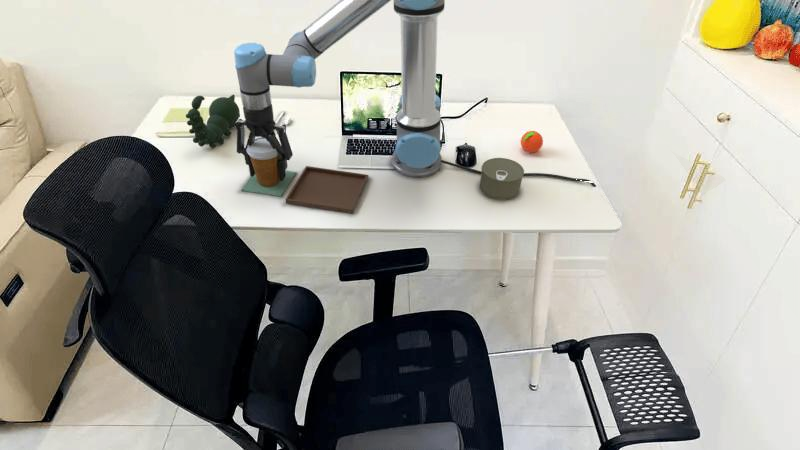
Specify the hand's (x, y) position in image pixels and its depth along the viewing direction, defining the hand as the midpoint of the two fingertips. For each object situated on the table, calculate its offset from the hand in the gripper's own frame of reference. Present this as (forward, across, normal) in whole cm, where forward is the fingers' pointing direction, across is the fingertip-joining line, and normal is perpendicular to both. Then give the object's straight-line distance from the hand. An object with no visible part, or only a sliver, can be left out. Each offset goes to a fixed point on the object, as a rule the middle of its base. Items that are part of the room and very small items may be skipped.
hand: (268, 176), depth 155 cm
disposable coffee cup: (+2, 0, 0) cm, 2 cm away
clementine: (+2, -74, -36) cm, 82 cm away
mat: (+2, 0, 0) cm, 2 cm away
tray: (+2, -18, 0) cm, 18 cm away
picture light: (+2, +9, -34) cm, 35 cm away
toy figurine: (+2, +25, -20) cm, 32 cm away
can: (+2, -66, -13) cm, 67 cm away
